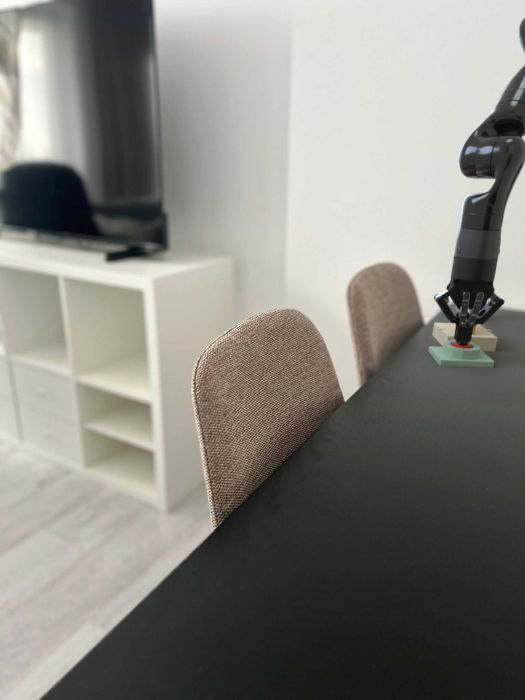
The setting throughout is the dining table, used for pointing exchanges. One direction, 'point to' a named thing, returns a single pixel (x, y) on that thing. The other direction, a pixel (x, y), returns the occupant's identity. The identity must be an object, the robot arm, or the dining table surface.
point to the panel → (480, 337)
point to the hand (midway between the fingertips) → (461, 343)
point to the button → (462, 345)
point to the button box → (460, 356)
